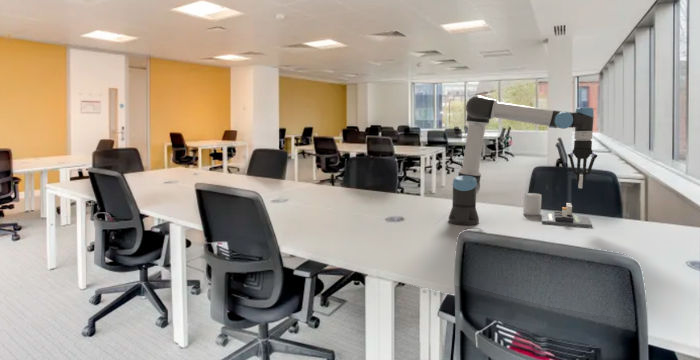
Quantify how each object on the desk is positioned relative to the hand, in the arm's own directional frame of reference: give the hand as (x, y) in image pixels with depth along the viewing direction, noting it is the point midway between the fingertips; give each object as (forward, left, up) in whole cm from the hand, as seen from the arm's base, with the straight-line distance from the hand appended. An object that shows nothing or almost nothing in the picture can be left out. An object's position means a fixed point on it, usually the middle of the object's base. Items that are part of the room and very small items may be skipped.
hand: (580, 187), depth 204 cm
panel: (-5, +5, -19) cm, 20 cm away
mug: (-21, +19, -19) cm, 34 cm away
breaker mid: (-4, +6, -15) cm, 16 cm away
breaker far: (-4, +12, -15) cm, 19 cm away
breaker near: (-6, 0, -15) cm, 16 cm away
